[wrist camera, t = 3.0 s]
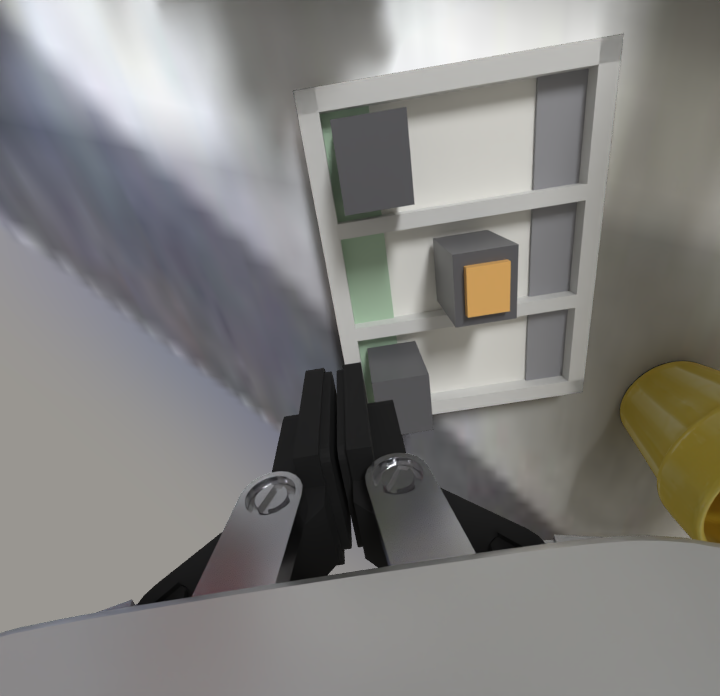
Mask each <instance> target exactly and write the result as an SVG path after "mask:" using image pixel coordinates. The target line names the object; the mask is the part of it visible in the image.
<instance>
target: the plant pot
mask: <svg viewBox="0 0 720 696" xmlns="http://www.w3.org/2000/svg"><path fill="white" fill-rule="evenodd" d="M620 417H621V421H622V423H623V425H624V427H625V428H626V430H627V431H628V433H629V435H630V436H631V438H632V439H633V441H634V442H635V444H636V446H637V447H638V449H639V450H640V452H641V454H642V455H643V457H644V458H645V460H646V462H647V463H648V465H649V466H650V468H651V470H652V471H653V473H654V475H655V476H656V478H657V489H658V494H659V497H660V499H661V501H662V503H663V505H664V506H665V508H666V509H667V510H668V512H669V513H670V514H671V515H672V517H673V518H674V519H675V520H676V521H677V522H678V524H679V525H680V526H681V527H682V528H683V529H684V530H685V532H686V533H687V534H688V535H689V536H690V537H691V538H692V539H695V540H701V541H707V542H713V543H719V544H720V371H719V370H716V369H713V368H710V367H707V366H704V365H701V364H698V363H694V362H689V361H677V362H671V363H666V364H663V365H660V366H657V367H655V368H653V369H651V370H649V371H648V372H646V373H645V374H643V375H642V376H641V377H639V378H638V379H637V380H636V381H635V382H634V383H633V384H632V385H631V386H630V388H629V389H628V390H627V392H626V393H625V395H624V397H623V399H622V402H621V406H620Z"/></svg>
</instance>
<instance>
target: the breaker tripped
mask: <svg viewBox="0 0 720 696" xmlns="http://www.w3.org/2000/svg"><path fill="white" fill-rule="evenodd" d="M433 249H434V264H435V279H436V294H437V301H438V303H439V304H440V306H441V307H442V308H443V310H444V311H445V313H446V314H447V316H448V317H449V319H450V320H451V322H452V323H453V324H454V326H455V327H456V328H457V327H463V326H470V325H476V324H483V323H489V322H496V321H502V320H509V319H515V318H517V290H518V252H519V244H517V243H515V242H513V241H510V240H508V239H506V238H504V237H502V236H500V235H498V234H495V233H493V232H491V231H489V230H482V231H476V232H470V233H464V234H458V235H451V236H445V237H439V238H433Z"/></svg>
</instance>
